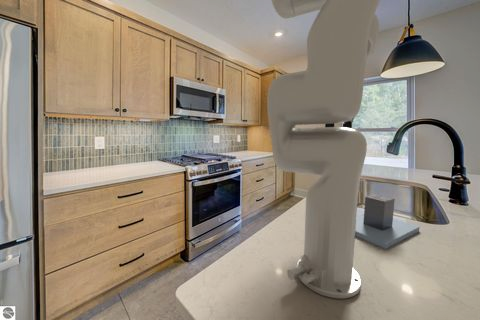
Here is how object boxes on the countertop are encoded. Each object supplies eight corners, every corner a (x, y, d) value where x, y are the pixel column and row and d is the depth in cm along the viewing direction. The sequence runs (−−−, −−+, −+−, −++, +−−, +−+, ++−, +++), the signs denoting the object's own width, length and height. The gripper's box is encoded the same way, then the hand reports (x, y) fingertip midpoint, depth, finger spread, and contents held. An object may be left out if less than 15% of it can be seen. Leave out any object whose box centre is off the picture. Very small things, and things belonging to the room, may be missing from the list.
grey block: (382, 230, 59) (385, 201, 58) (363, 223, 64) (365, 196, 63) (392, 226, 62) (394, 198, 61) (373, 220, 67) (375, 194, 66)
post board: (385, 249, 52) (387, 225, 52) (337, 227, 65) (338, 208, 64) (419, 231, 62) (421, 211, 61) (371, 215, 74) (372, 198, 73)
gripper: (334, 78, 61) (331, 134, 63) (366, 84, 70) (363, 134, 72) (314, 83, 68) (312, 134, 70) (346, 89, 76) (343, 134, 78)
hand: (338, 134), depth 71 cm, fingers open, 9 cm apart
